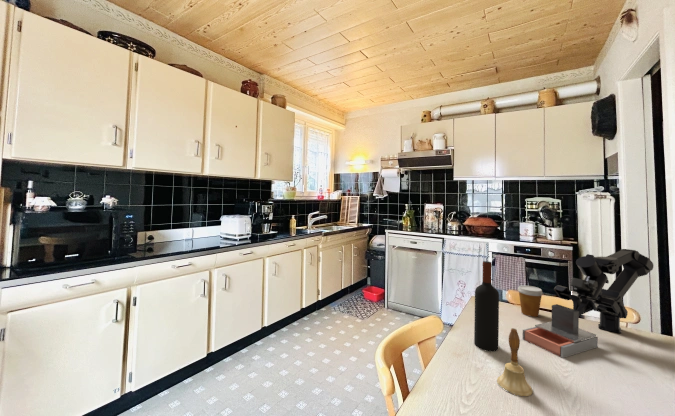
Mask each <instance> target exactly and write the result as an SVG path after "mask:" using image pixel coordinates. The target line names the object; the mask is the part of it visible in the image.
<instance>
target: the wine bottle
mask: <svg viewBox="0 0 675 416" xmlns="http://www.w3.org/2000/svg"><path fill="white" fill-rule="evenodd" d="M492 265H493V263H492V261H489V260H488V261H486V260H484V261H482V283H481V284H480V285H478V286H477V287H476V288H475V290H474V326H473V327H474V330H473V331H474V332H473V333H474V337H473V338H474V339H473V341H474V346H475V347H476V348H478V349H480V350H483V351H485V350H486V352H491V351H492V352H497V351H499V329H500V328H499V325H500V324H499V323H500V321H499V320H500V318H499V315H500V311H499V310H500V294H499V290H498V289H497V288H496V287H494V286H493V284H492Z"/></svg>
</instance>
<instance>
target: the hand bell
mask: <svg viewBox="0 0 675 416" xmlns="http://www.w3.org/2000/svg"><path fill="white" fill-rule="evenodd" d="M520 342H521V340H520V336H519V333H518V330H517V329H516V328H511V329H510V332H509V335H508V346H509V349H510V362H507V363H505V364H504V370H503V373H502V374H501V375H499V376H498V377H497V379H496V382H497V385H498V384H499V385H500V386H501V387H502V388H504V389H505V390H507V391H509V392H511V393H512V394H511V393H510V394H511V395H513V394H515V395H514V396H517V395H519V396H518V397H523V396H525V397H530V396H532V394H533V392H534V391H533V390H534V389H532V387H531V385H530V383H528V381H527V379H526V375H525V370H524V368H523V367H522V366H521V365H520V364H519V359H518V358H519V356H518V352H519V350H520ZM499 385H498V386H499ZM500 386H499V387H500ZM501 387H500V388H501ZM502 388H501V389H502ZM505 390H504V391H505ZM507 391H506V392H507ZM509 392H508V393H509Z"/></svg>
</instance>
